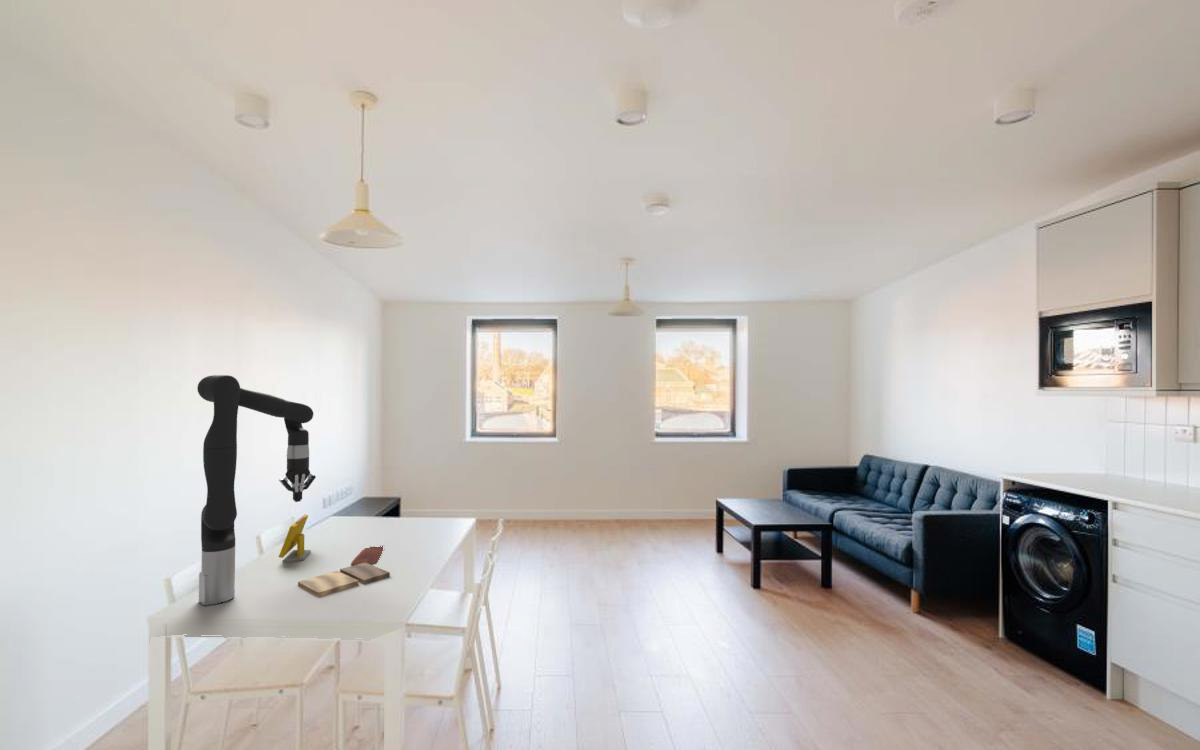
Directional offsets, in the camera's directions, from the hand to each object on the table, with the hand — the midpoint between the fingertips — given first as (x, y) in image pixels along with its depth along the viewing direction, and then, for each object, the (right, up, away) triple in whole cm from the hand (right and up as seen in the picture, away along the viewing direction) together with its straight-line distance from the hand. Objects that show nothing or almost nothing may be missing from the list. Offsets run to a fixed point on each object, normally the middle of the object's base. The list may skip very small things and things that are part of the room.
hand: (297, 501), depth 207 cm
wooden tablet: (+20, -28, +19) cm, 40 cm away
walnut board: (+28, -27, -4) cm, 39 cm away
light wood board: (+19, -27, -15) cm, 36 cm away
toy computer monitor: (-10, -28, +17) cm, 34 cm away
